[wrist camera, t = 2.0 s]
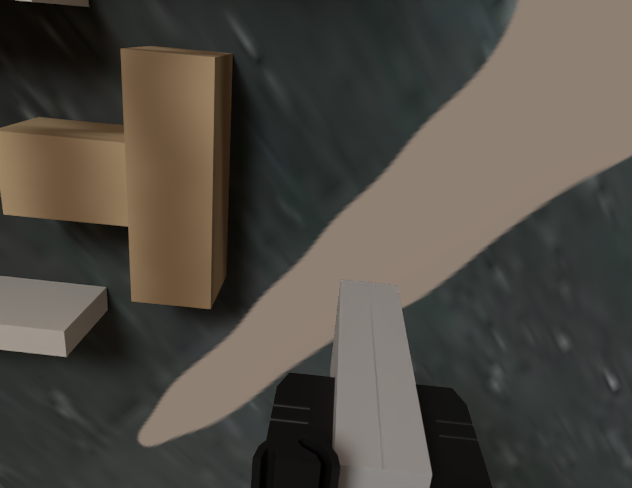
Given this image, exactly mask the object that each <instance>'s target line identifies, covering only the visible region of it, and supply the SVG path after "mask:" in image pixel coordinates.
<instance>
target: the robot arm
mask: <svg viewBox="0 0 632 488" xmlns="http://www.w3.org/2000/svg"><path fill="white" fill-rule="evenodd" d="M251 488H492V485H491V482H490V479H489V476H488V473H487V469H486V466H485V463H484V460H483V456H482V453H481V450H480V447H479V444H478V442H477V437H476V434H475V431H474V427H473V426H472V421H471V418H470V415H469V411H468V408H467V405H466V404H465V403H464V401H463V400H462V399H461V398H460V397H459V396H458V395H457V393H456V392H455V391H454V390H453V389H452V388H444V387H435V386H426V385H416V384H415V379H414V373H413V368H412V362H411V357H410V352H409V346H408V341H407V335H406V330H405V325H404V319H403V314H402V308H401V303H400V298H399V293H398V287H397V285H391V284H381V283H371V282H362V281H352V280H341V281H340V291H339V299H338V308H337V316H336V325H335V335H334V343H333V352H332V360H331V372H330V377H326V376H316V375H307V374H297V373H289V374H288V375H287V376H286V377H285V378H284V379H283V380H282V381H281V383H280V384H279V385H278V386H277V389H276V394H275V399H274V405H273V409H272V414H271V421H270V424H269V429H268V434H267V439H266V441H264V442H263V443H262V444H261V445H259V446H258V448H257V450H256V452H255V454H254V456H253V463H252V481H251Z"/></svg>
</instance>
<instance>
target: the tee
mask: <svg viewBox="0 0 632 488" xmlns="http://www.w3.org/2000/svg"><path fill="white" fill-rule="evenodd" d="M232 60H233V54H232V53H221V52H211V51H200V50H189V49H179V48H168V47H158V46H145V47H133V48H121V70H122V93H123V116H124V125H117V124H106V123H96V122H85V121H75V120H65V119H54V118H44V117H37V118H34V119H30V120H27V121H23V122H20V123H16V124H13V125H9V126H6V127H2V128H0V191H1V199H2V206H3V214H4V215H15V216H25V217H35V218H45V219H55V220H66V221H76V222H86V223H96V224H106V225H117V226H127V227H128V231H129V254H130V277H131V300H132V301H133V302H144V303H154V304H164V305H174V306H184V307H194V308H204V309H211V307H212V305H213V303H214V301H215V299H216V297H217V295H218V293H219V291H220V289H221V286H222V284H223V282H224V280H225V278H226V273H227V238H228V202H229V166H230V131H231V95H232Z"/></svg>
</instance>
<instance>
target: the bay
mask: <svg viewBox="0 0 632 488" xmlns="http://www.w3.org/2000/svg"><path fill="white" fill-rule="evenodd" d="M17 1H28V2H39V3H50V4H61V5H72V6H83V7H89V0H17ZM107 310H108V305H107V289H106V287H100V286H91V285H81V284H72V283H63V282H53V281H44V280H35V279H25V278H16V277H7V276H0V350H8V351H17V352H26V353H35V354H44V355H53V356H62V357H67V356H68V355H69V354H70V352H71V351H72V350H73V349H74V348H75V347H76V346H77V344H78V343H79V342H80V341H81V340H82V339H83V338H84V336H85V335H86V334H87V333H88V332H89V331H90V330H91V328H92V327H93V326H94V325H95V324H96V323H97V322H98V321H99V319H100V318H101V317H102V316H103V315H104V314H105V313H106V311H107Z"/></svg>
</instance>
